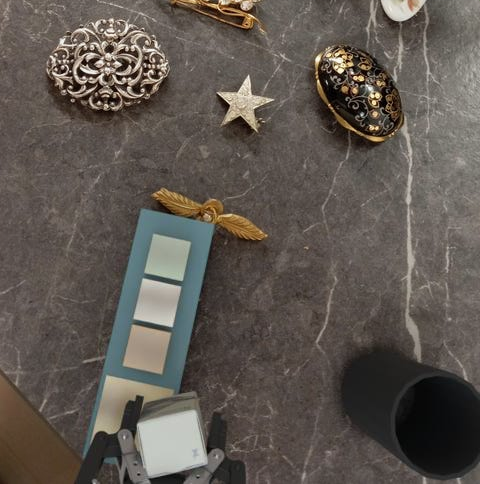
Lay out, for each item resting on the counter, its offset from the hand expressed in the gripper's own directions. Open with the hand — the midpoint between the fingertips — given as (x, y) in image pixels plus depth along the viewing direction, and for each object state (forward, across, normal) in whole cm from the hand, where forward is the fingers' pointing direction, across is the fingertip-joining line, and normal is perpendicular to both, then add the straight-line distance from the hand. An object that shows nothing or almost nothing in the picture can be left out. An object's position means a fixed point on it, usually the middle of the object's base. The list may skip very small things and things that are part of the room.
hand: (177, 410), depth 78 cm
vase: (+31, -27, +28) cm, 50 cm away
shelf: (+33, +3, +26) cm, 42 cm away
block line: (+13, +4, +7) cm, 15 cm away
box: (+3, 0, +6) cm, 7 cm away
